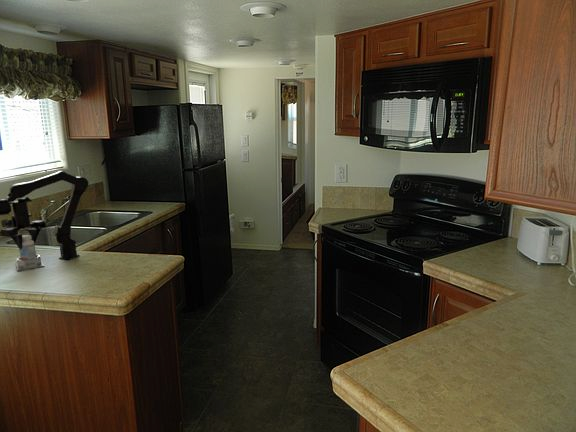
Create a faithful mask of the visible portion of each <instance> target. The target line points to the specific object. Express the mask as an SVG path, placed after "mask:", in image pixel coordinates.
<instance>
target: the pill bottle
mask: <svg viewBox="0 0 576 432" xmlns="http://www.w3.org/2000/svg"><path fill="white" fill-rule="evenodd" d="M31 239H32V237H31V235H30V234H22V249H19V248H18V250H19V257H21V260H29V259H34V258H36V257H37V256H36V254H37V249H36V246H35V245H36V243H35V244H34V241H33V240H31Z"/></svg>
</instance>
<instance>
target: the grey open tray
mask: <svg viewBox="0 0 576 432" xmlns="http://www.w3.org/2000/svg"><path fill="white" fill-rule="evenodd" d="M36 256H37V257H36V258H34V259H29V260H21V257H20V256H19V257H17V258H16V261H15V264H16V265H15V266H16V270H17V272H23V271H29V270H33V269H39V268H44V267H45V265H44V263H43V259H42V257H41V255H40V253H39V254H37V253H36Z"/></svg>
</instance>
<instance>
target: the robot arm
mask: <svg viewBox="0 0 576 432" xmlns="http://www.w3.org/2000/svg"><path fill="white" fill-rule="evenodd" d="M61 181H63V182H66V183H69V184H70V185H71V187H70V188H71V189H70V191H71V193H70V196H69V199H68V202H67V205H66V207H65V211H64V214H63V216H62V219H61V222H60V224H59V225H57V224H55V225H54V230H53V232H52V234H53V239H54V240H55V241H56V242H57V243H58V244H60V245H59V251H60V252H59V253H60V257H58V259H59V260H66V261H67V260H69V261H70V260H72V259H75V258H78V257H80V254H78V252H77V247H76V243H77V241H75V239H74V238H73V237H71V234H72V233H71V232H72V230H71V229H72V224H73V220H74V218H75V214H76V212H77V209H78V206H79V204H80V203H79V202H80V200H81V198H82V196H83V195H84V193H85V192H86V190H87V189H88V188H89V187H88V186H89V181H88V179H87V178H85V177H84V176H80V175H78V176H74V175H71V174H70V173H67V172H66V171H62V170H59V171H57V172H54V173H51V174H49V175H48V174H47V175H46V176H43V177H39V178H37V179H34V180H31V181H24V182H19V183H14V184H11V185H10V187H9V193H8V194H7V196H6V197H5V198H4V199H3V198H2V199H0V216H7V215H9V214H10V213H12V212H13V215H11V219H7V218H6V219H1V220H0V222H1V223H0V224H1V226H2V228H3V229H0V237H9V238H10V239H11V240H13V242H14V243H15V245H16V246H17V248H18V250H19V249H22V236H23V234H22V233H20V232H23V231H26V230H27V232H28V233H29V235H31V237H32V239H31V240H33V241H34V244H35V245H36V241H37V239H38V237H39V234H40V232H41V231H42V230H43V228H46V227H47V222H46V221H45V220H33V221H31V217H32V214H31V213H30V210H29V205H28V203H31V202H33V199H32V198H30V197H28V196H27V195H29V194H31V193H32V192H33V191H36V190H38V189H41V188H45V187H47V186H50V185H52V184H55V183H58V182H61Z"/></svg>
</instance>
